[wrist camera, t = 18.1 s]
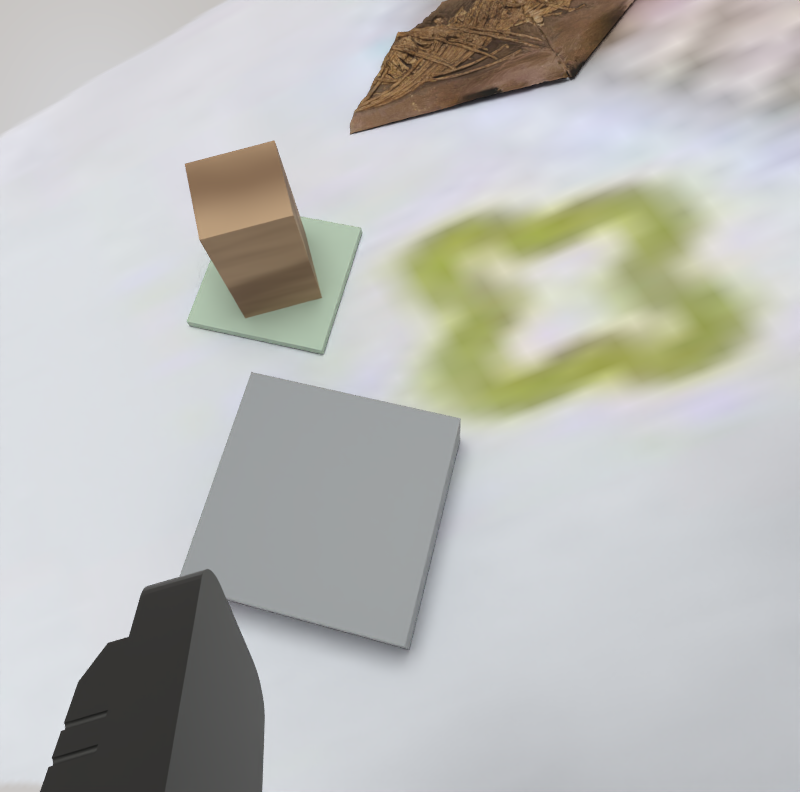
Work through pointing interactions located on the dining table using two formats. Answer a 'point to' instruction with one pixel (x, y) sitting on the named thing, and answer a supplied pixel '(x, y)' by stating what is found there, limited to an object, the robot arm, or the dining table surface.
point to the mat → (295, 323)
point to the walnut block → (253, 229)
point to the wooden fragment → (483, 53)
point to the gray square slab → (327, 507)
